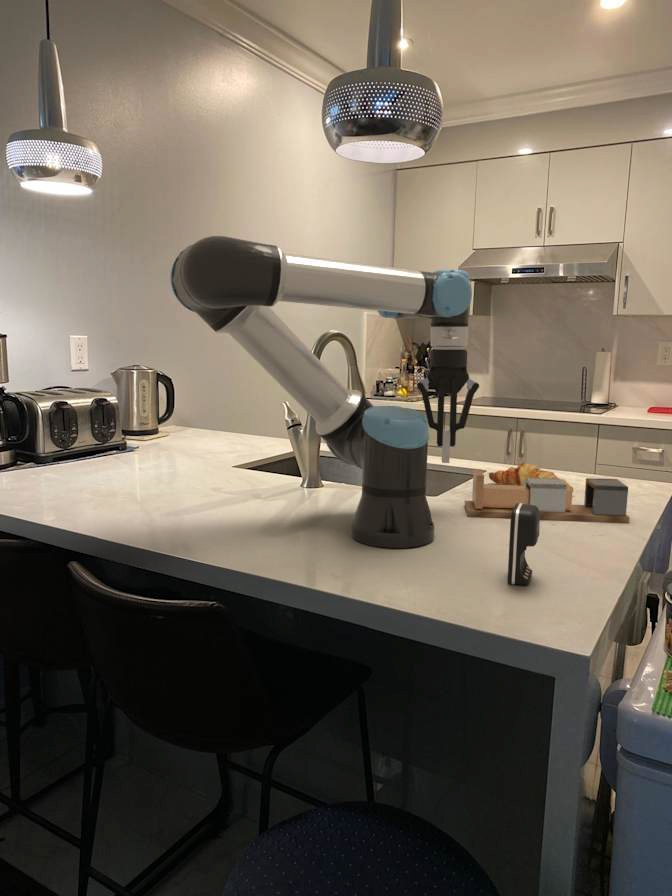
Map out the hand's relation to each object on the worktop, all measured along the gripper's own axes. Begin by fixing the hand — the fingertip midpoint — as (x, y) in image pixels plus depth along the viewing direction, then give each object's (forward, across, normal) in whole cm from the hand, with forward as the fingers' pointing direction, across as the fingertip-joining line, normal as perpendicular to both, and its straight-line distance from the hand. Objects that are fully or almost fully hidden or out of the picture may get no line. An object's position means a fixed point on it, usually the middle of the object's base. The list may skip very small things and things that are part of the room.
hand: (445, 461), depth 142 cm
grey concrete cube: (+10, +21, 0) cm, 23 cm away
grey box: (+10, +33, 0) cm, 34 cm away
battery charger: (+11, +10, -40) cm, 43 cm away
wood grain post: (+9, +16, 0) cm, 18 cm away
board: (+11, +21, 0) cm, 23 cm away
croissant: (+11, +21, +23) cm, 33 cm away
